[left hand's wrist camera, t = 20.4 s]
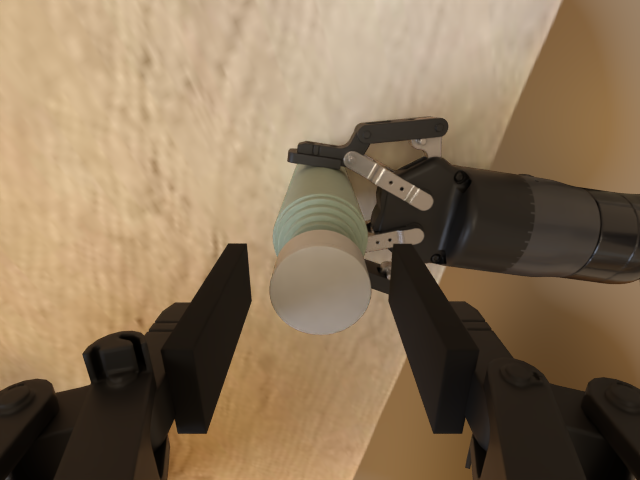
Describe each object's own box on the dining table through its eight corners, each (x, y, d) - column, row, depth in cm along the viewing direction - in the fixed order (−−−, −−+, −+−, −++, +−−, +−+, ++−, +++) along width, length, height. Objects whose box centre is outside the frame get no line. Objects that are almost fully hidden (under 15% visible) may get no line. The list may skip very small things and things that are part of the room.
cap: (257, 279, 15) (249, 301, 13) (310, 210, 14) (309, 225, 12) (329, 325, 16) (329, 351, 14) (384, 263, 15) (392, 284, 13)
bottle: (312, 214, 33) (303, 354, 15) (282, 171, 32) (231, 268, 14) (357, 186, 32) (405, 300, 14) (328, 140, 31) (340, 200, 12)
